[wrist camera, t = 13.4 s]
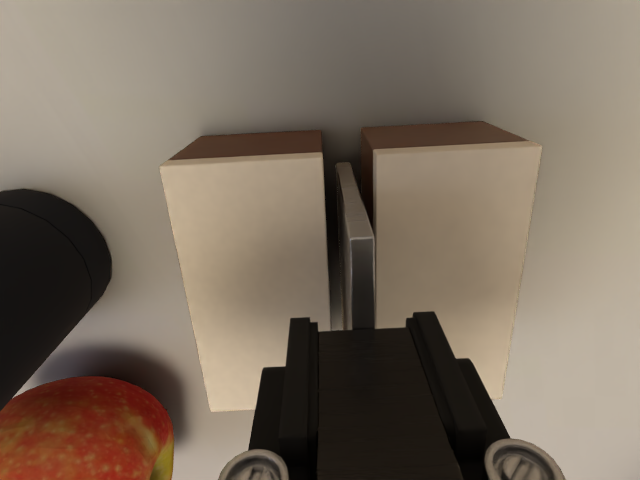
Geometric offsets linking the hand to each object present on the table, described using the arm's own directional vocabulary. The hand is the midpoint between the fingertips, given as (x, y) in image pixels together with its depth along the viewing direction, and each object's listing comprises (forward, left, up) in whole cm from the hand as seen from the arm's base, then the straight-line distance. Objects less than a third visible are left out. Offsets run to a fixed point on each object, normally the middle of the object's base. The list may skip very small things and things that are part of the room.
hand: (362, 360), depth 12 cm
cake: (0, -3, -8) cm, 9 cm away
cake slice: (0, +3, -8) cm, 9 cm away
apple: (+9, -13, -9) cm, 18 cm away
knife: (0, 0, -8) cm, 8 cm away
